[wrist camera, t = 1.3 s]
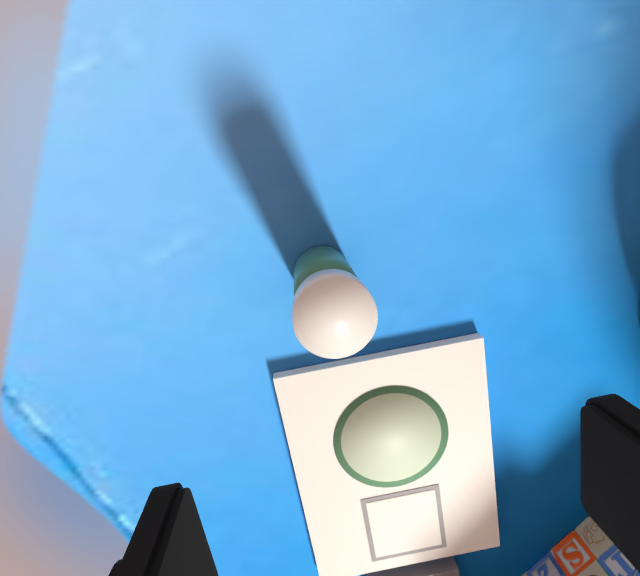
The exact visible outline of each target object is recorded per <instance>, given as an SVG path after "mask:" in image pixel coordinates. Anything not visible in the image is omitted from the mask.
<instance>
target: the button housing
mask: <svg viewBox="0 0 640 576" xmlns="http://www.w3.org/2000/svg"><path fill="white" fill-rule="evenodd" d="M366 575H367V576H460V575H459V568H458V566H457V564H456V561H455V559H454V557H453V556H449V557H444V558H439V559H435V560H430V561H425V562H420V563H415V564H410V565H405V566H400V567H396V568H391V569H386V570H381V571H376V572H371V573H366Z"/></svg>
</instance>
